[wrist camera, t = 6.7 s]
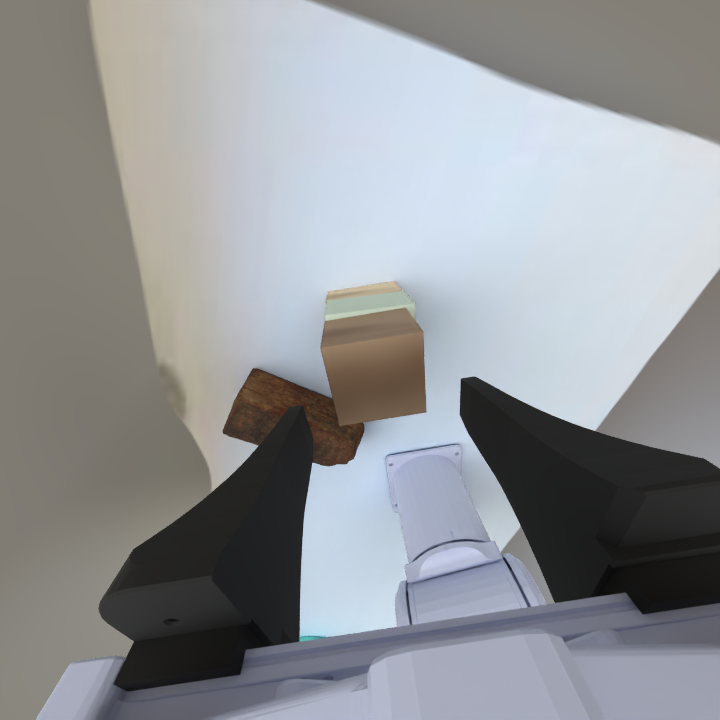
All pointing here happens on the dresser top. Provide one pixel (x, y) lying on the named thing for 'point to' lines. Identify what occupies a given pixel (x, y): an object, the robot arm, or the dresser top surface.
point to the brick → (272, 399)
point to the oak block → (363, 291)
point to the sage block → (368, 305)
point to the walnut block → (375, 366)
